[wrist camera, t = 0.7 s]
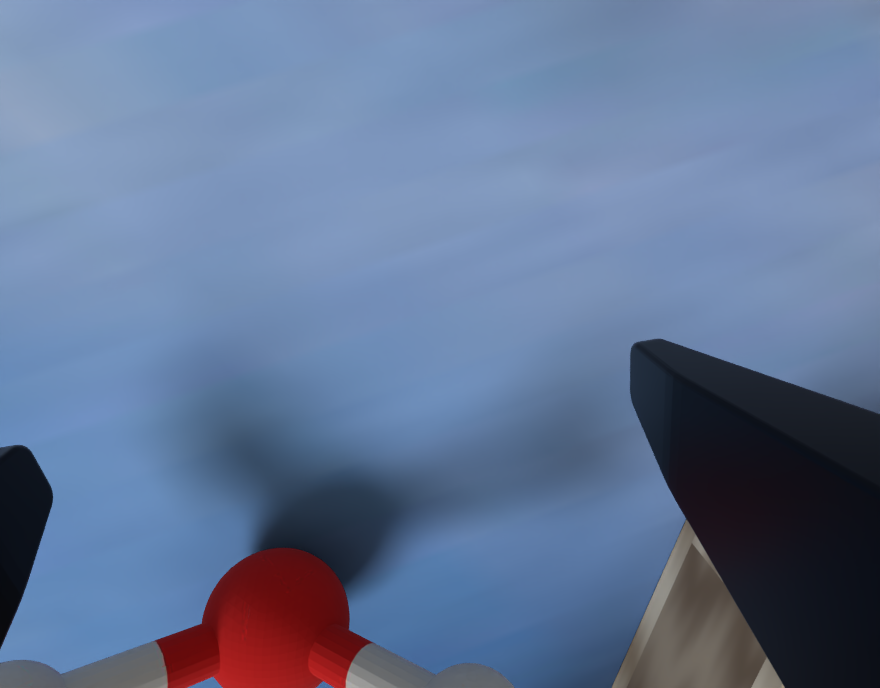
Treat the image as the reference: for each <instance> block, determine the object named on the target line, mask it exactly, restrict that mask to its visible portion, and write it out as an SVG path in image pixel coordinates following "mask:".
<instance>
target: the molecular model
mask: <svg viewBox="0 0 880 688" xmlns="http://www.w3.org/2000/svg"><path fill="white" fill-rule="evenodd" d="M349 620H350V618H349V606H348V600H347V597H346V593H345V591H344V588H343V586H342V584H341V582H340V580H339V578H338V577H337V576H336V574H335V573H334V572H333V570H332V569H331V568H330V567H329V566H328V565H327V564H326V563H324V562H323V561H322V560H321V559H319V558H317V557H316V556H314V555H312V554H310V553H308V552H305V551H302V550H299V549H294V548H273V549H267V550H263V551H260V552H257V553H255V554H252V555H250V556H248V557H246V558H245V559H243V560H242V561H240V562H238V563H237V564H236V565H235V566H233V567H232V568H231V569H230V570H229V571H228V572H227V573H226V574H225V575H224V576H223V577H222V578H221V579H220V581H219V582H218V584H217V585H216V587H215V588H214V590H213V591H212V593H211V595H210V597H209V600H208V602H207V605H206V607H205V611H204V614H203V619H202V624H200V625H197V626H194V627H192V628H189V629H186V630H183V631H180V632H178V633H175V634H172V635H169V636H166V637H164V638H161V639H158V640H155V641H152V642H150V643H147V644H144V645H141V646H139V647H136V648H133V649H130V650H127V651H125V652H122V653H119V654H116V655H113V656H111V657H108V658H105V659H102V660H100V661H97V662H94V663H91V664H88V665H86V666H83V667H80V668H77V669H74V670H72V671H69V672H66V673H63V674H60V673H59V672H58V671H56V670H55V669H53V668H52V667H50V666H48V665H46V664H43V663H40V662H36V661H31V660H13V661H7V662H3V663H0V688H187V687H189V686H192V685H194V684H196V683H199V682H201V681H204V680H206V679H208V678H211V677H214V678H215V679H216V680H217V682H218V683H219V684H220V685H221V686H222V687H223V688H316V687H317V686H318V685H319V684H320V683H321V682H322V681H324V682H326V683H328V684H329V685H331V686H333V687H334V688H514V686H513V685H512V684H511V683H510V682H509V681H508V680H507V679H506V678H505V677H504V676H503V675H502V674H500V673H499V672H497V671H496V670H494V669H492V668H490V667H487V666H484V665H481V664H476V663H463V664H457V665H454V666H451V667H449V668H446V669H445V670H443V671H441V672H440V673H438V674H437V675H435V674H433V673H431V672H429V671H428V670H426V669H424V668H422V667H420V666H418V665H416V664H414V663H412V662H410V661H408V660H406V659H404V658H402V657H400V656H398V655H396V654H394V653H392V652H390V651H388V650H387V649H385V648H383V647H381V646H379V645H377V644H375V643H373V642H371V641H369V640H367V639H365V638H363V637H361V636H359V635H357V634H355V633H353V632H351V631H349Z"/></svg>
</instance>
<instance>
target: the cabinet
mask: <svg viewBox="0 0 880 688" xmlns="http://www.w3.org/2000/svg"><path fill="white" fill-rule="evenodd" d="M612 688H785V687H784V686H783V684H782V682H781V680H780V679H779V677H778V675H777V674H776V672H775V670H774V668H773V667H772V665H771V663H770V662H769V660H768V658H767V656H766V655H765V653H764V651H763V650H762V648H761V646H760V644H759V643H758V641H757V639H756V638H755V636H754V634H753V632H752V631H751V629H750V627H749V626H748V624H747V622H746V620H745V619H744V617H743V615H742V613H741V612H740V610H739V608H738V607H737V605H736V603H735V601H734V600H733V598H732V596H731V595H730V593H729V591H728V589H727V588H726V586H725V584H724V583H723V581H722V579H721V577H720V576H719V574H718V572H717V571H716V569H715V567H714V565H713V564H712V562H711V560H710V559H709V557H708V555H707V553H706V552H705V550H704V548H703V547H702V545H701V543H700V541H699V540H698V538H697V536H696V535H695V533H694V531H693V529H692V528H691V526H690V524H689V523H688V521H687V519H686V521H685V524H684V526H683V528H682V530H681V533H680V535H679V537H678V539H677V542H676V544H675V546H674V548H673V551H672V553H671V555H670V557H669V560H668V562H667V564H666V566H665V569H664V571H663V573H662V575H661V578H660V580H659V582H658V584H657V587H656V589H655V591H654V593H653V596H652V598H651V600H650V602H649V605H648V607H647V609H646V611H645V614H644V616H643V618H642V620H641V623H640V625H639V627H638V629H637V632H636V634H635V636H634V638H633V641H632V643H631V645H630V648H629V650H628V652H627V654H626V657H625V659H624V661H623V663H622V666H621V668H620V670H619V672H618V675H617V677H616V679H615V681H614V684H613V686H612Z"/></svg>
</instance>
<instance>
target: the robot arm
mask: <svg viewBox="0 0 880 688" xmlns="http://www.w3.org/2000/svg"><path fill="white" fill-rule="evenodd" d="M630 394H631V400H632V403H633V406H634V409H635V411H636V413H637V416H638V418H639V420H640V423H641V425H642V427H643V430H644V432H645V434H646V437H647V439H648V442H649V444H650V446H651V449H652V451H653V453H654V456H655V458H656V460H657V463H658V465H659V467H660V470H661V472H662V474H663V476H664V479H665V481H666V483H667V485H668V487H669V489H670V491H671V493H672V495H673V496H674V498H675V500H676V502H677V504H678V505H679V507H680V509H681V511H682V512H683V514H684V516H685V517H686V519H687V521H688V523H689V524H690V526H691V528H692V529H693V531H694V533H695V535H696V536H697V538H698V540H699V541H700V543H701V545H702V547H703V548H704V550H705V552H706V553H707V555H708V557H709V559H710V560H711V562H712V564H713V565H714V567H715V569H716V571H717V572H718V574H719V576H720V577H721V579H722V581H723V583H724V584H725V586H726V588H727V589H728V591H729V593H730V595H731V596H732V598H733V600H734V601H735V603H736V605H737V607H738V608H739V610H740V612H741V613H742V615H743V617H744V619H745V620H746V622H747V624H748V626H749V627H750V629H751V631H752V632H753V634H754V636H755V638H756V639H757V641H758V643H759V644H760V646H761V648H762V650H763V651H764V653H765V655H766V656H767V658H768V660H769V662H770V663H771V665H772V667H773V668H774V670H775V672H776V674H777V675H778V677H779V679H780V680H781V682H782V684H783V686H784V687H785V688H880V414H878V413H875V412H872V411H869V410H866V409H863V408H860V407H858V406H855V405H852V404H849V403H846V402H843V401H840V400H837V399H834V398H831V397H829V396H826V395H823V394H820V393H817V392H814V391H811V390H808V389H805V388H802V387H799V386H797V385H794V384H791V383H788V382H785V381H782V380H779V379H776V378H773V377H770V376H768V375H765V374H762V373H759V372H756V371H753V370H750V369H747V368H744V367H741V366H739V365H736V364H733V363H730V362H727V361H724V360H721V359H718V358H715V357H712V356H710V355H707V354H704V353H701V352H698V351H695V350H692V349H689V348H686V347H683V346H681V345H678V344H675V343H672V342H669V341H666V340H663V339H652V340H646V341H640V342H636V343H634V344H633V346H632V348H631V353H630ZM52 503H53V493H52V489H51V486H50V484H49V482H48V480H47V479H46V477H45V475H44V473H43V471H42V470H41V468H40V466H39V464H38V463H37V461H36V459H35V457H34V455H33V454H32V452H31V451H30V450H29V449H28V448H27V447H25V446H23V445H13V446H7V447H1V448H0V649H1V646H2V644H3V642H4V639H5V637H6V635H7V632H8V630H9V628H10V626H11V623H12V621H13V619H14V616H15V614H16V612H17V609H18V607H19V604H20V602H21V599H22V597H23V594H24V591H25V588H26V585H27V582H28V579H29V576H30V573H31V570H32V567H33V563H34V560H35V557H36V554H37V551H38V548H39V545H40V541H41V538H42V535H43V532H44V529H45V526H46V522H47V519H48V516H49V513H50V510H51V507H52Z"/></svg>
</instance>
